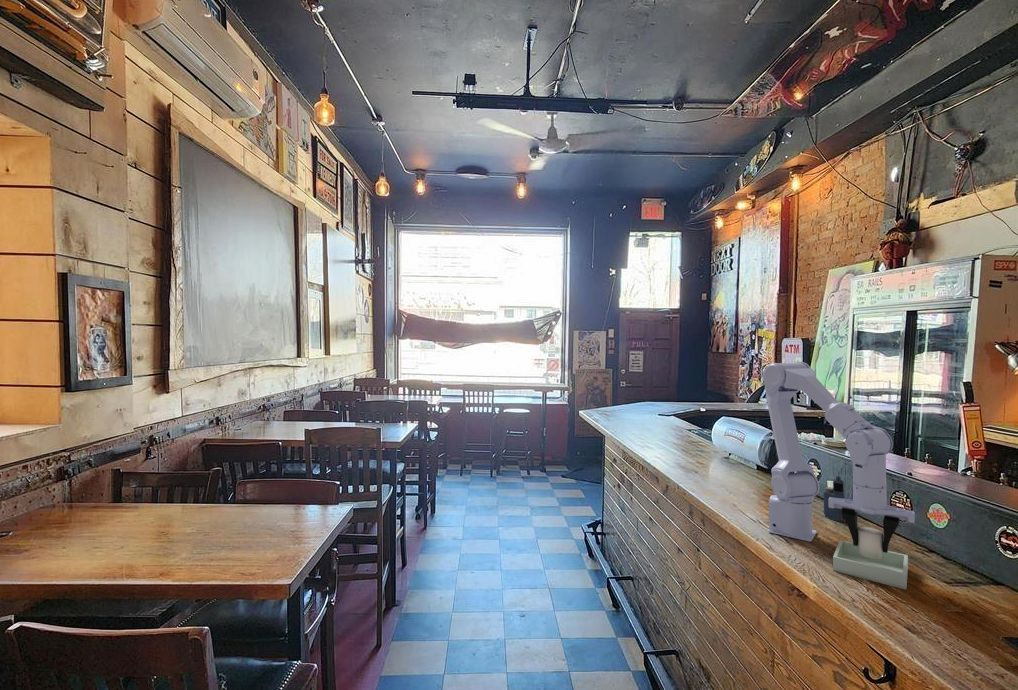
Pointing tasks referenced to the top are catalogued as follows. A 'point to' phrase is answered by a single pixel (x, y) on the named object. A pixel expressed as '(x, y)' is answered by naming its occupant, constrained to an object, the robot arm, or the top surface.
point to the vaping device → (836, 493)
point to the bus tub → (871, 565)
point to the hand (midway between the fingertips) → (870, 547)
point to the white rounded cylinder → (870, 542)
